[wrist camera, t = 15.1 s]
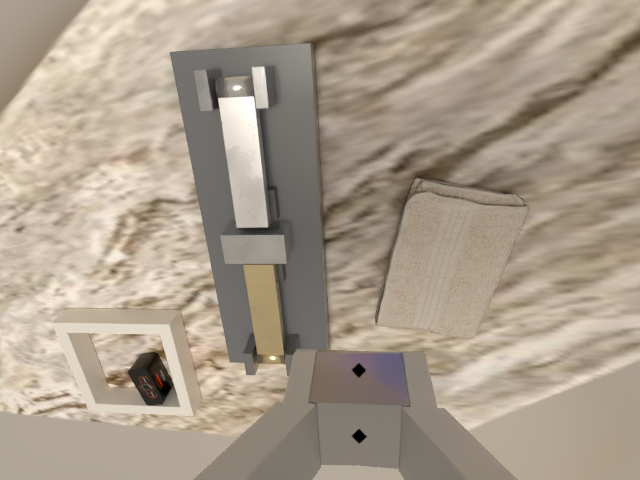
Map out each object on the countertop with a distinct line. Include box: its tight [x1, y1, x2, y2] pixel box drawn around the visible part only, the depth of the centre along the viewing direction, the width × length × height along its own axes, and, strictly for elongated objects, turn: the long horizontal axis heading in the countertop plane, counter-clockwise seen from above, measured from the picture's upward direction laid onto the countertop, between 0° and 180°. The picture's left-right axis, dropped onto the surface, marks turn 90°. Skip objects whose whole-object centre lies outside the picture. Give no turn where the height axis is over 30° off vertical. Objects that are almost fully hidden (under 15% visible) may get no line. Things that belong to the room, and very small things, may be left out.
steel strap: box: [215, 75, 271, 228], centre depth 34 cm, size 3×13×2 cm, turn 3°
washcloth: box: [375, 178, 529, 339], centre depth 41 cm, size 12×18×3 cm, turn 173°
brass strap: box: [243, 264, 286, 364], centre depth 41 cm, size 3×13×2 cm, turn 3°
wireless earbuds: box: [128, 353, 177, 406], centre depth 52 cm, size 5×7×3 cm, turn 13°
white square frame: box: [52, 308, 202, 416], centre depth 51 cm, size 15×15×3 cm
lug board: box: [170, 43, 330, 376], centre depth 39 cm, size 12×34×6 cm, turn 3°
